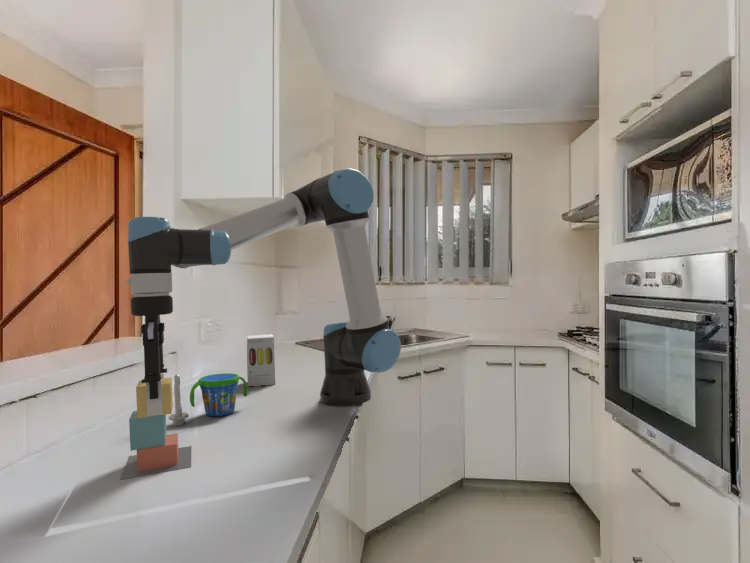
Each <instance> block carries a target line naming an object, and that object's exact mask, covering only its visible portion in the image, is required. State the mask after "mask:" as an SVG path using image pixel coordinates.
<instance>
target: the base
mask: <svg viewBox="0 0 750 563" xmlns="http://www.w3.org/2000/svg"><path fill="white" fill-rule="evenodd" d="M124 467H125V468H124V470H123V472H122V475H121V478H120V480H121V481H123V480H128V479H133V478H139V477H145V476H151V475H156V474H161V473H166V472H167V473H168V472H173V471H179V470H184V469H189V468H190V469H191V468H192V445H189V446H184V447H183V446H182V447H179V433H176V432H175V433H170V434H167V437H166V443H165V445H163V446H157V447H151V448H145V449H138V450H136V454H135V455H129V456H128V458H127V462H126V464H125V466H124Z"/></svg>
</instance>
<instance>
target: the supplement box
mask: <svg viewBox="0 0 750 563" xmlns="http://www.w3.org/2000/svg"><path fill="white" fill-rule="evenodd" d="M275 362H276V360H275V337H274V335H273V334H271V333H270V334H256V335H255V334H254V335H253V334H252V335H247V336H246V367H247V368H246V371H247V374H246V376H247V387H248V388H250V387H249V386H255V387H262V386H261V385H266V386H275V385H276V365H275V364H276V363H275Z"/></svg>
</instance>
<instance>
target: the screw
mask: <svg viewBox="0 0 750 563" xmlns="http://www.w3.org/2000/svg"><path fill="white" fill-rule="evenodd" d="M173 380H174V384H173V385H174V386H173V388H174V389H173V392H174V393H173V395H174V397H173V401H174V406H173V408H174V413H172V414H169V416H168V420H169V421H172V424H173V426H175V427H179V426H183V425H184V424H185V423H186V421H185V420H186V419H187V418H189V417H190V415H189V413H187V412H183V400H182V399H183V398H182V397H183V396H182V384H181V376H180V375H179V374H175V375H174V378H173Z"/></svg>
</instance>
